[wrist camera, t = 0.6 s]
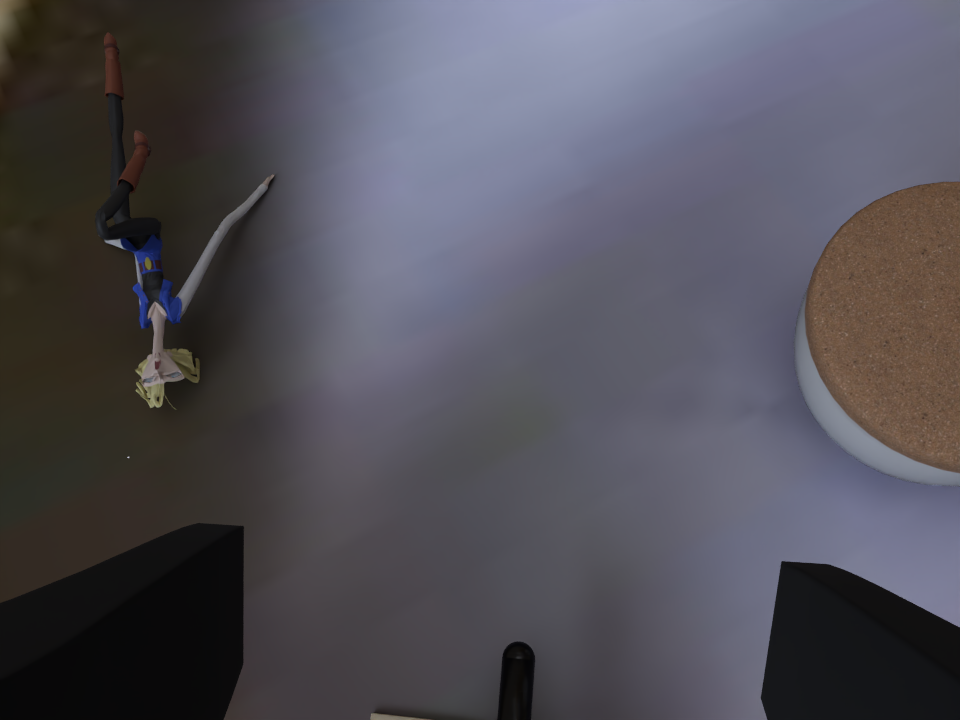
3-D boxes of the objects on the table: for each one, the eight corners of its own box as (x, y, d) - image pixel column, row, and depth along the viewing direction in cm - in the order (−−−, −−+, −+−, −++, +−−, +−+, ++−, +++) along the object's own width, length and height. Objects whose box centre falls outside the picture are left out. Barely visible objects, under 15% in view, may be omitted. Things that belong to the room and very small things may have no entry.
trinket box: (951, 241, 37) (1061, 111, 29) (1088, 461, 33) (1264, 388, 25) (726, 320, 37) (767, 214, 29) (837, 549, 34) (923, 507, 25)
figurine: (170, 454, 46) (148, 103, 47) (295, 443, 42) (267, 61, 44) (-11, 471, 37) (-30, 34, 38) (128, 458, 33) (100, -26, 34)
